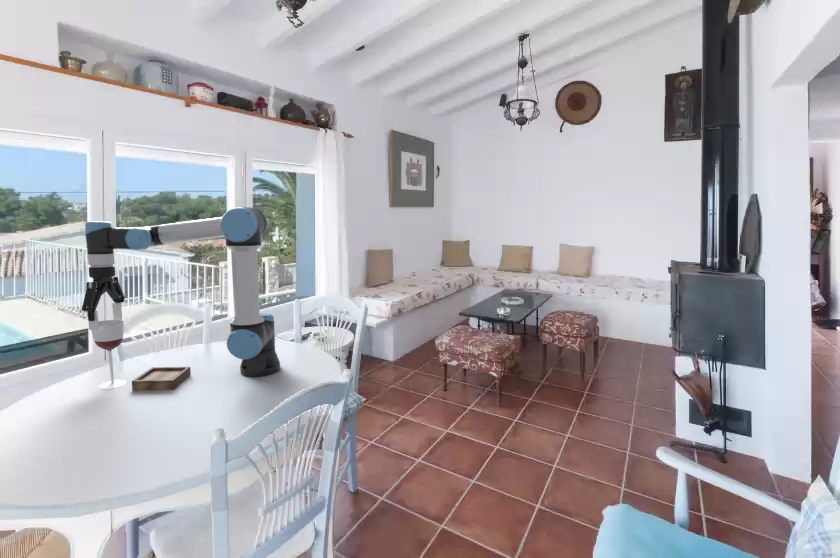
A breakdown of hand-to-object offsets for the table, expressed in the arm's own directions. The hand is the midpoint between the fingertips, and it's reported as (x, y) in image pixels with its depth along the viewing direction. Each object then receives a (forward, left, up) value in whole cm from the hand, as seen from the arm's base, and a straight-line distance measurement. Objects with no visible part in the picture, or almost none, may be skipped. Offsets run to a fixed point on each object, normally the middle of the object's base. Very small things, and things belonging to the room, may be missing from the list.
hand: (106, 324), depth 156 cm
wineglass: (0, 0, -23) cm, 23 cm away
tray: (-17, -1, -22) cm, 28 cm away
